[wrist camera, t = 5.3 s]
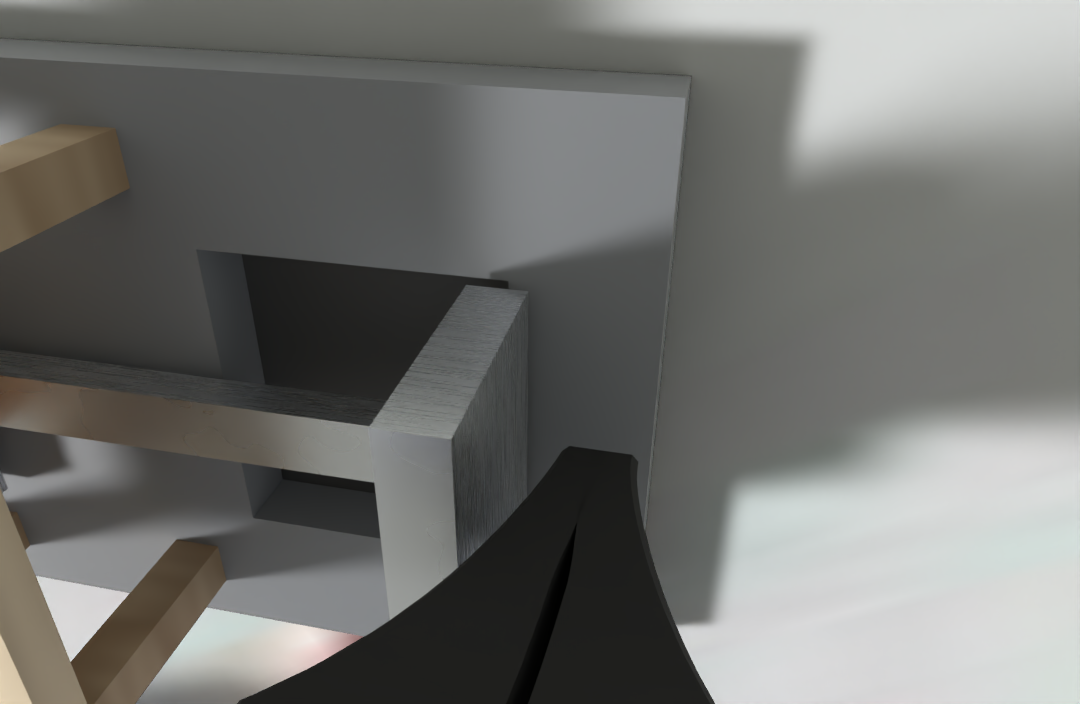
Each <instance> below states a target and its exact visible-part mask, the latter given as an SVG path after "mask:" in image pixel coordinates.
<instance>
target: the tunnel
mask: <svg viewBox="0 0 1080 704" xmlns="http://www.w3.org/2000/svg"><path fill="white" fill-rule="evenodd" d="M129 188H130V186H129V182H128V178H127V174H126V170H125V166H124V161H123V157H122V153H121V149H120V145H119V141H118V137H117V133H116V129H115V128H109V127H95V126H82V125H68V124H59V125H56V126H54V127H51V128H48V129H45V130H42V131H39V132H37V133H34V134H31V135H28V136H25V137H22V138H20V139H17V140H14V141H11V142H8V143H5V144H2V145H0V252H2V251H4V250H6V249H8V248H10V247H12V246H14V245H17V244H19V243H21V242H23V241H25V240H27V239H29V238H31V237H33V236H35V235H37V234H39V233H41V232H43V231H45V230H47V229H49V228H51V227H53V226H55V225H57V224H59V223H61V222H63V221H65V220H67V219H69V218H71V217H73V216H75V215H77V214H79V213H81V212H83V211H85V210H87V209H89V208H91V207H93V206H95V205H97V204H99V203H101V202H103V201H105V200H107V199H109V198H111V197H113V196H115V195H117V194H119V193H121V192H123V191H125V190H127V189H129ZM29 546H30V543H29V541H28V538H27V536H26V533H25V531H24V528H23V526H22V523H21V521H20V518H19V516H18V513H17V512H12V511H9V509H8V506H7V504H6V501H5V499H4V496H3V494H2V491H1V489H0V704H135V703H136V702H137V701H138V699H139V698H140V697H141V695H142V694H143V693H144V691H145V690H146V688H147V687H148V686H149V684H150V683H151V682H152V680H153V679H154V678H155V676H156V675H157V674H158V672H159V671H160V670H161V668H162V667H163V665H164V664H165V663H166V661H167V660H168V659H169V657H170V656H171V655H172V653H173V652H174V651H175V649H176V648H177V647H178V645H179V644H180V642H181V641H182V640H183V638H184V637H185V636H186V634H187V633H188V632H189V630H190V629H191V628H192V626H193V625H194V623H195V622H196V621H197V619H198V618H199V617H200V615H201V614H202V613H203V611H204V610H205V609H206V607H207V606H208V605H209V603H210V602H211V600H212V599H213V598H214V596H215V595H216V594H217V592H218V591H219V590H220V588H221V587H222V586H223V584H224V583H225V582H226V577H225V573H224V569H223V565H222V561H221V557H220V553H219V548H218V547H217V546H211V545H206V544H200V543H194V542H188V541H182V540H175V542H174V543H173V544H172V545H171V546H170V547H169V549H168V550H167V551H166V552H165V553H164V554H163V556H162V557H161V558H160V559H159V560H158V561H157V563H156V564H155V565H154V566H153V567H152V568H151V569H150V571H149V572H148V573H147V574H146V575H145V576H144V578H143V579H142V580H141V581H140V582H139V583H138V585H137V586H136V587H135V588H134V589H133V590H132V592H131V593H130V594H129V595H128V596H127V597H126V599H125V600H124V601H123V602H122V603H121V604H120V605H119V607H118V608H117V609H116V610H115V611H114V612H113V614H112V615H111V616H110V617H109V618H108V619H107V621H106V622H105V623H104V624H103V625H102V626H101V628H100V629H99V630H98V631H97V632H96V633H95V634H94V636H93V637H92V638H91V639H90V640H89V641H88V643H87V644H86V645H85V646H84V647H83V648H82V650H81V651H80V652H79V653H78V654H77V655H76V657H75V658H74V659H73V660H72V661H71V662H70V660H69V657H68V655H67V653H66V650H65V648H64V645H63V643H62V640H61V638H60V635H59V633H58V630H57V628H56V625H55V623H54V620H53V618H52V615H51V613H50V610H49V608H48V605H47V603H46V600H45V598H44V595H43V593H42V591H41V588H40V586H39V583H38V581H37V578H36V576H35V573H34V571H33V568H32V566H31V563H30V561H29V558H28V556H27V553H26V551H25V550H26V549H27V548H28V547H29Z"/></svg>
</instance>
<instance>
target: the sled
mask: <svg viewBox="0 0 1080 704" xmlns="http://www.w3.org/2000/svg"><path fill="white" fill-rule="evenodd" d="M0 426H1V427H7V428H14V429H21V430H27V431H34V432H41V433H47V434H54V435H61V436H67V437H74V438H81V439H87V440H94V441H100V442H107V443H114V444H120V445H127V446H134V447H140V448H147V449H154V450H160V451H167V452H174V453H180V454H187V455H194V456H200V457H207V458H214V459H220V460H227V461H234V462H240V463H247V464H254V465H260V466H267V467H274V468H280V469H287V470H294V471H300V472H307V473H314V474H320V475H327V476H334V477H340V478H347V479H354V480H360V481H367V482H374V484H375V493H376V501H377V510H378V519H379V528H380V537H381V546H382V555H383V564H384V573H385V581H386V590H387V599H388V608H389V617H390V620H391V619H392V618H394V617H395V616H396V615H398V614H399V613H400V612H402V611H403V610H405V609H406V608H407V607H409V606H410V605H411V604H413V603H414V602H416V601H417V600H418V599H420V598H421V597H422V596H424V595H425V594H426V593H428V592H429V591H430V590H431V589H433V588H434V587H435V586H436V585H438V584H439V583H440V582H441V581H442V580H444V579H445V578H446V577H447V576H448V575H450V574H451V573H452V572H453V571H454V570H455V569H457V568H458V567H459V566H460V565H461V564H462V563H463V562H464V561H466V560H467V559H468V558H469V557H470V556H471V555H472V554H473V553H474V552H475V551H476V550H477V549H478V548H479V547H480V546H481V545H482V544H483V543H484V542H485V541H486V540H487V539H488V538H489V537H490V536H491V535H492V534H493V533H494V532H495V531H497V530H498V529H499V527H500V526H501V525H502V524H503V523H504V522H505V521H506V520H507V519H508V518H509V517H510V516H511V514H512V513H513V512H514V511H515V510H516V509H517V508H518V507H519V505H520V504H521V503H522V502H523V501H524V500H525V499H526V498H527V427H528V291H520V290H510V289H500V288H491V287H481V286H471V285H466V286H465V288H464V289H463V291H462V292H461V293H460V295H459V296H458V298H457V299H456V301H455V302H454V304H453V305H452V307H451V308H450V310H449V311H448V312H447V314H446V315H445V317H444V318H443V320H442V321H441V323H440V324H439V326H438V327H437V329H436V330H435V331H434V333H433V334H432V336H431V337H430V339H429V340H428V342H427V343H426V345H425V346H424V348H423V349H422V350H421V352H420V353H419V355H418V356H417V358H416V359H415V361H414V362H413V364H412V365H411V367H410V368H409V369H408V371H407V372H406V374H405V375H404V377H403V378H402V380H401V381H400V383H399V384H398V386H397V387H396V388H395V390H394V391H393V393H392V394H391V396H390V397H389V399H388V400H387V401H386V400H379V399H371V398H363V397H356V396H348V395H341V394H333V393H325V392H318V391H310V390H302V389H295V388H287V387H280V386H272V385H264V384H257V383H249V382H242V381H234V380H226V379H219V378H211V377H203V376H196V375H188V374H181V373H173V372H165V371H158V370H150V369H142V368H135V367H127V366H120V365H112V364H104V363H97V362H89V361H81V360H74V359H66V358H59V357H51V356H43V355H36V354H28V353H21V352H13V351H5V350H0ZM0 489H1V491H2V493H3V492H5V491H6V490H7V489H8V487H7V484H6V482H5V479H4V477H3V474H2V472H1V469H0Z"/></svg>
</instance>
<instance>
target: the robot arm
mask: <svg viewBox="0 0 1080 704" xmlns="http://www.w3.org/2000/svg"><path fill="white" fill-rule="evenodd" d="M637 472H638V461H637V460H636V459H635V457H634V456H633V455H631V454H624V453H617V452H610V451H602V450H595V449H588V448H581V447H574V446H568V447H567V448H565V449H564V450H562V452H561V453H560V455H559V456H558V458H557V459H556V461H555V462H554V463H553V465H552V466H551V467H550V469H549V470H548V472H547V473H546V474H545V475H544V477H543V478H542V479H541V481H540V482H539V483H538V484H537V486H536V487H535V488H534V489H533V490H532V492H531V493H530V494H529V495H528V496H527V498H526V499H525V500H524V501H523V502H522V503H521V504H520V505H519V507H518V508H517V509H516V510H515V511H514V512H513V513H512V514H511V516H510V517H509V518H508V519H507V520H506V521H505V522H504V523H503V524H502V525H501V526H500V527H499V529H498V530H497V531H495V532H494V533H493V534H492V535H491V536H490V537H489V538H488V539H487V540H486V541H485V542H484V543H483V544H482V545H481V546H480V547H479V548H478V549H477V550H476V551H475V552H474V553H473V554H472V555H471V556H470V557H469V558H468V559H467V560H466V561H464V562H463V563H462V564H461V565H460V566H459V567H458V568H457V569H455V570H454V571H453V572H452V573H451V574H450V575H448V576H447V577H446V578H445V579H444V580H442V581H441V582H440V583H439V584H438V585H436V586H435V587H434V588H433V589H431V590H430V591H429V592H428V593H426V594H425V595H424V596H422V597H421V598H420V599H418V600H417V601H416V602H414V603H413V604H411V605H410V606H409V607H407V608H406V609H405V610H403V611H402V612H400V613H399V614H398V615H396V616H395V617H394V618H392V619H391V620H389V621H388V622H386V623H385V624H383V625H382V626H380V627H379V628H377V629H376V630H374V631H373V632H371V633H369V634H368V635H366V636H364V637H363V638H361V639H359V640H358V641H356V642H354V643H353V644H351V645H349V646H347V647H346V648H344V649H342V650H341V651H339V652H337V653H336V654H334V655H332V656H331V657H329V658H327V659H325V660H324V661H322V662H320V663H318V664H316V665H315V666H313V667H311V668H309V669H307V670H305V671H303V672H301V673H299V674H296V675H294V676H292V677H290V678H288V679H286V680H284V681H282V682H279V683H277V684H275V685H273V686H271V687H269V688H267V689H265V690H262V691H260V692H258V693H256V694H254V695H252V696H249V697H247V698H245V699H242V700H240V701H239V702H238V703H237V704H715V703H714V701H713V699H712V697H711V695H710V694H709V692H708V690H707V688H706V687H705V685H704V683H703V681H702V679H701V678H700V676H699V674H698V672H697V670H696V668H695V666H694V664H693V662H692V660H691V658H690V655H689V653H688V651H687V649H686V647H685V645H684V643H683V641H682V638H681V636H680V634H679V631H678V629H677V627H676V624H675V622H674V620H673V617H672V615H671V612H670V610H669V607H668V605H667V602H666V599H665V596H664V594H663V591H662V588H661V585H660V582H659V579H658V576H657V573H656V570H655V567H654V563H653V560H652V557H651V553H650V549H649V545H648V541H647V537H646V533H645V529H644V525H643V520H642V516H641V510H640V503H639V497H638V487H637Z"/></svg>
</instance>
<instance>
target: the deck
mask: <svg viewBox="0 0 1080 704" xmlns="http://www.w3.org/2000/svg"><path fill="white" fill-rule="evenodd" d="M690 85H691V76H683V75H665V74H646V73H628V72H610V71H591V70H573V69H555V68H536V67H518V66H499V65H481V64H463V63H444V62H426V61H408V60H389V59H371V58H352V57H334V56H316V55H297V54H279V53H261V52H242V51H224V50H205V49H187V48H169V47H150V46H132V45H114V44H95V43H77V42H58V41H40V40H22V39H3V38H0V145H2V144H5V143H8V142H11V141H14V140H17V139H20V138H22V137H25V136H28V135H31V134H34V133H37V132H39V131H42V130H45V129H48V128H51V127H54V126H56V125H59V124H68V125H82V126H95V127H109V128H115V129H116V133H117V137H118V141H119V145H120V149H121V153H122V157H123V161H124V166H125V170H126V174H127V178H128V182H129V186H130V188H129V189H127V190H125V191H123V192H121V193H119V194H117V195H115V196H113V197H111V198H109V199H107V200H105V201H103V202H101V203H99V204H97V205H95V206H93V207H91V208H89V209H87V210H85V211H83V212H81V213H79V214H77V215H75V216H73V217H71V218H69V219H67V220H65V221H63V222H61V223H59V224H57V225H55V226H53V227H51V228H49V229H47V230H45V231H43V232H41V233H39V234H37V235H35V236H33V237H31V238H29V239H27V240H25V241H23V242H21V243H19V244H17V245H14V246H12V247H10V248H8V249H6V250H4V251H2V252H0V350H5V351H13V352H21V353H28V354H36V355H43V356H51V357H59V358H66V359H74V360H81V361H89V362H97V363H104V364H112V365H120V366H127V367H135V368H142V369H150V370H158V371H165V372H173V373H181V374H188V375H196V376H203V377H211V378H219V379H226V380H234V381H242V382H249V383H257V384H264V385H272V386H280V387H287V388H295V389H302V390H310V391H318V392H325V393H333V394H341V395H348V396H356V397H363V398H371V399H379V400H386V401H387V400H388V399H389V397H390V396H391V394H392V393H393V391H394V390H395V388H396V387H397V386H398V384H399V383H400V381H401V380H402V378H403V377H404V375H405V374H406V372H407V371H408V369H409V368H410V367H411V365H412V364H413V362H414V361H415V359H416V358H417V356H418V355H419V353H420V352H421V350H422V349H423V348H424V346H425V345H426V343H427V342H428V340H429V339H430V337H431V336H432V334H433V333H434V331H435V330H436V329H437V327H438V326H439V324H440V323H441V321H442V320H443V318H444V317H445V315H446V314H447V312H448V311H449V310H450V308H451V307H452V305H453V304H454V302H455V301H456V299H457V298H458V296H459V295H460V293H461V292H462V291H463V289H464V288H465V286H466V285H471V286H481V287H491V288H500V289H510V290H520V291H528V427H527V496H528V495H529V494H530V493H531V492H532V490H533V489H534V488H535V487H536V486H537V484H538V483H539V482H540V481H541V479H542V478H543V477H544V475H545V474H546V473H547V472H548V470H549V469H550V467H551V466H552V465H553V463H554V462H555V461H556V459H557V458H558V456H559V455H560V453H561V452H562V450H564V449H565V448H567V447H568V446H574V447H581V448H588V449H595V450H602V451H610V452H617V453H624V454H631V455H633V456H634V457H635V459H636V460H637V461H638V472H637V487H638V497H639V503H640V510H641V516H642V520H643V525H644V529H645V532H646V522H647V512H648V502H649V492H650V482H651V472H652V462H653V452H654V442H655V433H656V423H657V413H658V403H659V393H660V383H661V373H662V363H663V353H664V343H665V333H666V323H667V314H668V304H669V294H670V284H671V274H672V264H673V254H674V244H675V234H676V224H677V214H678V204H679V195H680V185H681V175H682V165H683V155H684V145H685V135H686V125H687V115H688V105H689V95H690ZM0 469H1V472H2V474H3V477H4V479H5V482H6V484H7V487H8V489H7V490H6V491H5V492H3V493H2V494H3V496H4V499H5V501H6V504H7V506H8V509H9V511H12V512H17V513H18V516H19V518H20V521H21V523H22V526H23V528H24V531H25V533H26V536H27V538H28V541H29V543H30V546H29V547H28V548H27V549H26V550H25V551H26V553H27V556H28V558H29V561H30V563H31V566H32V568H33V571H34V573H35V576H41V577H46V578H52V579H57V580H62V581H68V582H73V583H79V584H84V585H89V586H95V587H100V588H106V589H111V590H116V591H122V592H127V593H131V592H132V590H133V589H134V588H135V587H136V586H137V585H138V583H139V582H140V581H141V580H142V579H143V578H144V576H145V575H146V574H147V573H148V572H149V571H150V569H151V568H152V567H153V566H154V565H155V564H156V563H157V561H158V560H159V559H160V558H161V557H162V556H163V554H164V553H165V552H166V551H167V550H168V549H169V547H170V546H171V545H172V544H173V543H174V542H175V540H182V541H188V542H194V543H200V544H206V545H211V546H217V547H218V548H219V553H220V557H221V561H222V565H223V569H224V573H225V577H226V582H225V583H224V584H223V586H222V587H221V588H220V590H219V591H218V592H217V594H216V595H215V596H214V598H213V599H212V600H211V602H210V603H209V605H208V606H207V607H208V608H213V609H219V610H224V611H230V612H235V613H240V614H246V615H251V616H257V617H262V618H267V619H273V620H278V621H284V622H289V623H294V624H300V625H305V626H311V627H316V628H321V629H327V630H332V631H338V632H343V633H348V634H354V635H359V636H366V635H368V634H369V633H371V632H373V631H374V630H376V629H377V628H379V627H380V626H382V625H383V624H385V623H386V622H388V621H389V620H390V617H389V608H388V599H387V590H386V581H385V573H384V564H383V555H382V546H381V537H380V528H379V519H378V510H377V501H376V493H375V484H374V482H367V481H360V480H354V479H347V478H340V477H334V476H327V475H320V474H314V473H307V472H300V471H294V470H287V469H280V468H274V467H267V466H260V465H254V464H247V463H240V462H234V461H227V460H220V459H214V458H207V457H200V456H194V455H187V454H180V453H174V452H167V451H160V450H154V449H147V448H140V447H134V446H127V445H120V444H114V443H107V442H100V441H94V440H87V439H81V438H74V437H67V436H61V435H54V434H47V433H41V432H34V431H27V430H21V429H14V428H7V427H1V426H0Z"/></svg>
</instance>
